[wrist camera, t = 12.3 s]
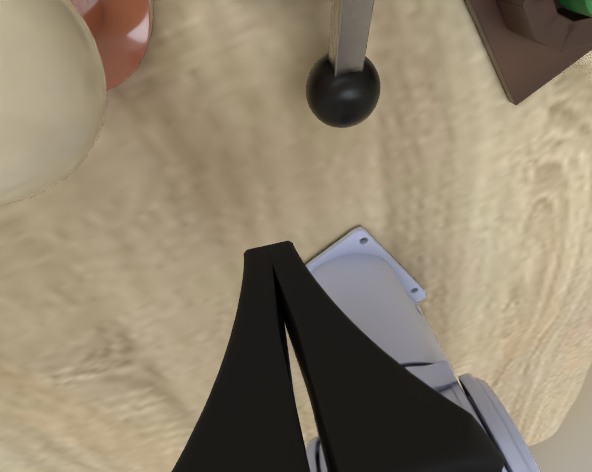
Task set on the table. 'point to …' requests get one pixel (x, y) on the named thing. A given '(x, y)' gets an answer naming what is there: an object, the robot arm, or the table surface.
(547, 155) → the table surface
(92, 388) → the table surface
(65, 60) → the globe lamp
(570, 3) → the light button
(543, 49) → the button block
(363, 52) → the switch lever
